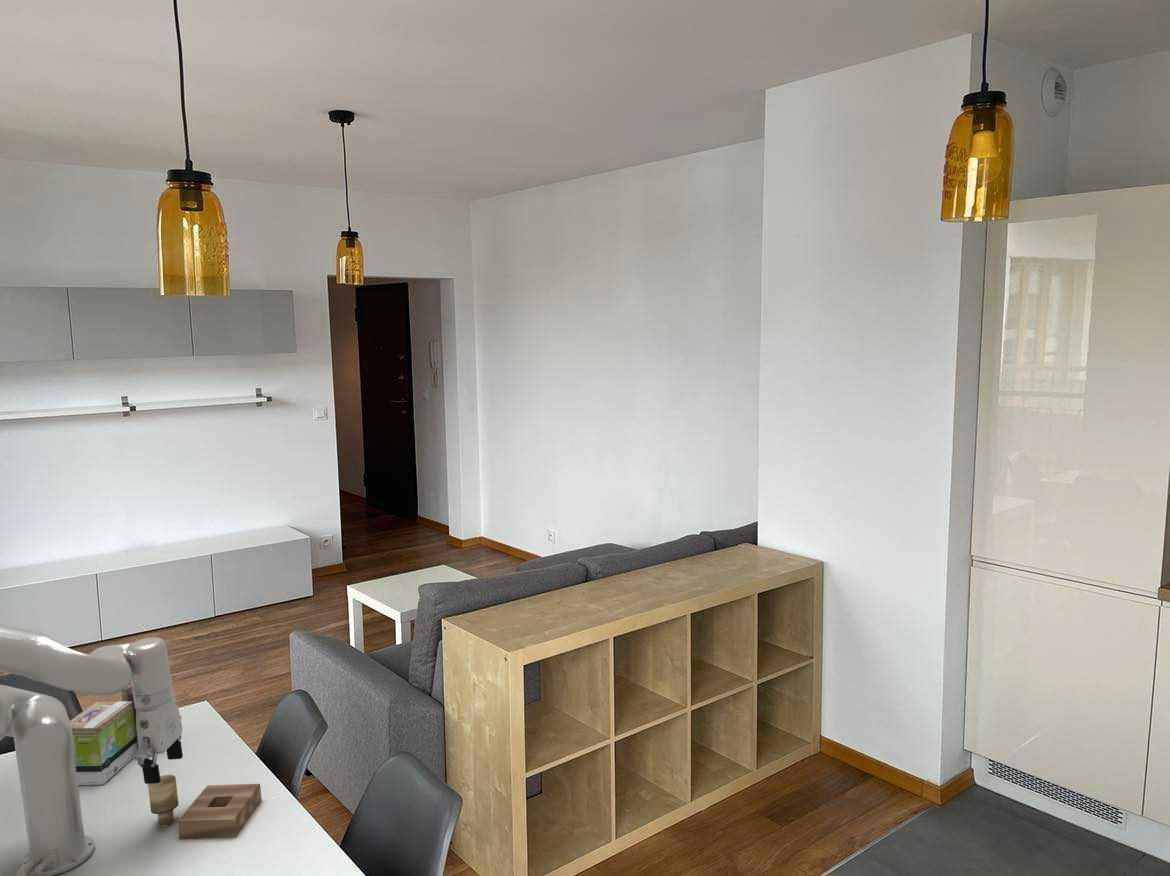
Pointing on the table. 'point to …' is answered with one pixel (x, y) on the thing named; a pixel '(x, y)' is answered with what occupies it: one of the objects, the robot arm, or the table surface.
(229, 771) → the table surface
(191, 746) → the table surface
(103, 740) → the tea box
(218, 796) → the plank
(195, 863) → the table surface
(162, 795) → the peg
